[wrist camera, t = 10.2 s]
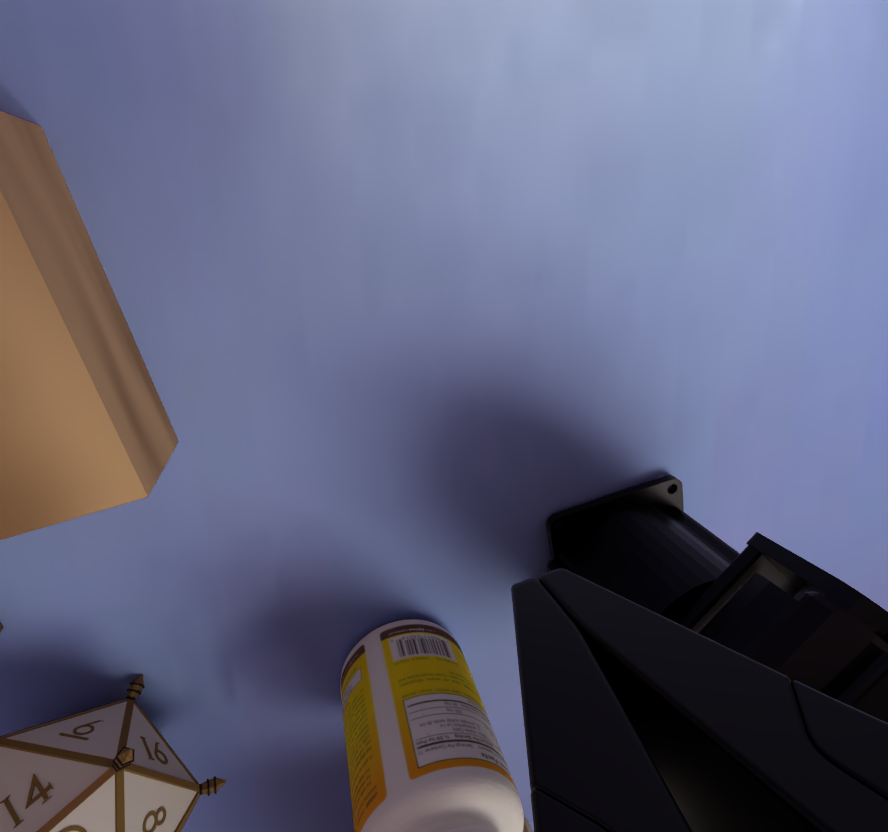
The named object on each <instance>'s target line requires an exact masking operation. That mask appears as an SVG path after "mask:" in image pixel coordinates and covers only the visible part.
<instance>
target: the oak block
mask: <svg viewBox="0 0 888 832" xmlns="http://www.w3.org/2000/svg"><path fill="white" fill-rule="evenodd" d="M178 442H179V441H178V439H177V437H176V434H175V432H174V430H173V427H172V425H171V423H170V421H169V418H168V416H167V414H166V411H165V409H164V407H163V404H162V402H161V400H160V398H159V395H158V393H157V391H156V388H155V386H154V384H153V382H152V379H151V377H150V375H149V372H148V370H147V368H146V366H145V363H144V361H143V359H142V356H141V354H140V352H139V349H138V347H137V345H136V343H135V340H134V338H133V336H132V333H131V331H130V329H129V327H128V324H127V322H126V320H125V317H124V315H123V313H122V310H121V308H120V306H119V304H118V301H117V299H116V297H115V294H114V292H113V290H112V288H111V285H110V283H109V281H108V278H107V276H106V274H105V272H104V269H103V267H102V265H101V262H100V260H99V258H98V255H97V253H96V251H95V249H94V246H93V244H92V242H91V239H90V237H89V235H88V233H87V230H86V228H85V226H84V223H83V221H82V219H81V216H80V214H79V212H78V210H77V207H76V205H75V203H74V200H73V198H72V196H71V194H70V191H69V189H68V187H67V184H66V182H65V180H64V178H63V175H62V173H61V171H60V168H59V166H58V164H57V161H56V159H55V157H54V155H53V152H52V150H51V148H50V145H49V143H48V141H47V139H46V136H45V134H44V132H43V129H42V127H41V126H39V125H36V124H34V123H31V122H28V121H26V120H23V119H20V118H18V117H15V116H13V115H10V114H7V113H5V112H2V111H0V540H1V539H5V538H8V537H12V536H15V535H19V534H22V533H25V532H29V531H32V530H36V529H39V528H43V527H46V526H49V525H53V524H56V523H60V522H63V521H67V520H70V519H73V518H77V517H80V516H84V515H87V514H91V513H94V512H97V511H101V510H104V509H108V508H111V507H115V506H118V505H121V504H125V503H128V502H132V501H135V500H139V499H142V498H145V497H148V496H149V494H150V492H151V490H152V488H153V487H154V485H155V483H156V481H157V480H158V478H159V476H160V474H161V472H162V471H163V469H164V467H165V465H166V463H167V462H168V460H169V458H170V456H171V454H172V453H173V451H174V449H175V447H176V445H177V444H178Z"/></svg>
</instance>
